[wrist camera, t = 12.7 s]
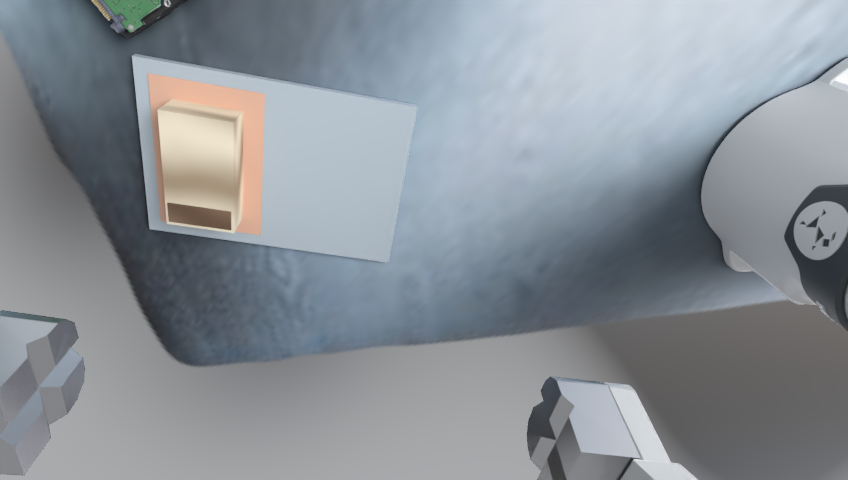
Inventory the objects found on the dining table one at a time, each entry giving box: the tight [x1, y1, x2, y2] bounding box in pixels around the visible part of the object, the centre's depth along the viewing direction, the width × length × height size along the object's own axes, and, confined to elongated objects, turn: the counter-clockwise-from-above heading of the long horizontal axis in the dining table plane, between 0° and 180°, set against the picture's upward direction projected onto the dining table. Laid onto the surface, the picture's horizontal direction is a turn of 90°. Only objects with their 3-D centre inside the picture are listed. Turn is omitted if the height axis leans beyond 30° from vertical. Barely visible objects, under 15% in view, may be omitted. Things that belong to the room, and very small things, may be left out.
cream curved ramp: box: [157, 99, 243, 233], centre depth 38 cm, size 9×5×3 cm, turn 169°
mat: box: [132, 54, 418, 263], centre depth 40 cm, size 20×14×1 cm
